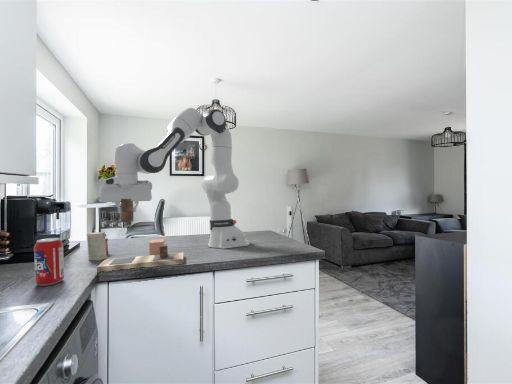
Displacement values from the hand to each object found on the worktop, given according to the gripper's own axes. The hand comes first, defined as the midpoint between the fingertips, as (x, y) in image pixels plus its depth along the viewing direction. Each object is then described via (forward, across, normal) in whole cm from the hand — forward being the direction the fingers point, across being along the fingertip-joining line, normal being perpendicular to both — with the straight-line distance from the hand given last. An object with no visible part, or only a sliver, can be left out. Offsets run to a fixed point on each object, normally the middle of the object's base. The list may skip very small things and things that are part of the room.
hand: (127, 212), depth 117 cm
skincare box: (+22, +15, -9) cm, 28 cm away
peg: (+4, 0, 0) cm, 4 cm away
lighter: (+22, +17, -19) cm, 33 cm away
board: (+22, -7, +7) cm, 24 cm away
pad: (+20, +1, +7) cm, 21 cm away
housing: (+22, -11, -6) cm, 25 cm away
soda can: (+22, +20, +21) cm, 37 cm away
